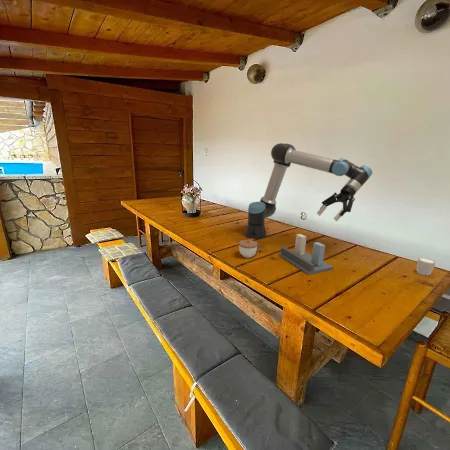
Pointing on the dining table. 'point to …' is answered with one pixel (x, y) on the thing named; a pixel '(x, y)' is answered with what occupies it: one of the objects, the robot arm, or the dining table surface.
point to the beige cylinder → (425, 266)
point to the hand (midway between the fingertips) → (326, 216)
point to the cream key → (300, 244)
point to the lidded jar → (248, 248)
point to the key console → (303, 262)
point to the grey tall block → (318, 254)
